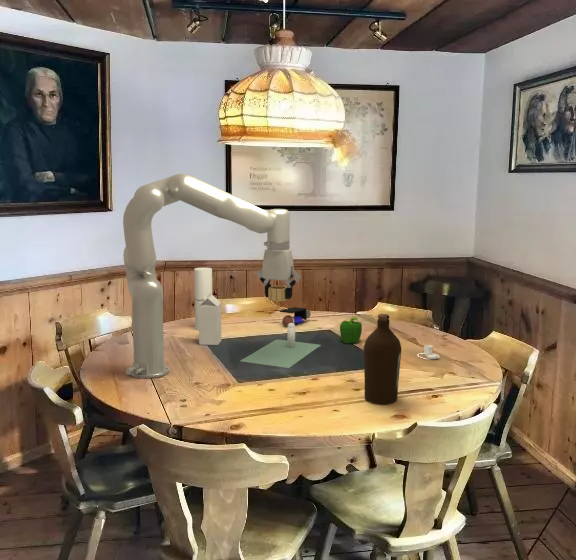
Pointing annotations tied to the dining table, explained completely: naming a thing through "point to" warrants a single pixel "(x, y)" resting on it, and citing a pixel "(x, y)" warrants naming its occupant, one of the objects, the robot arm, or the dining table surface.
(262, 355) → the post board
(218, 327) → the milk carton
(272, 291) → the brass ring
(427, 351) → the white charger with cable
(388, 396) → the olive oil
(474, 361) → the dining table surface
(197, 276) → the cylindrical container
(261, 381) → the dining table surface
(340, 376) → the dining table surface
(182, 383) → the dining table surface
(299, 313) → the figurine character
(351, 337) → the bell pepper
